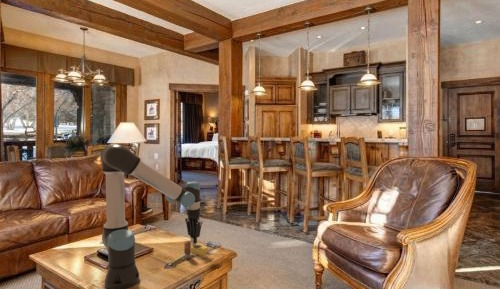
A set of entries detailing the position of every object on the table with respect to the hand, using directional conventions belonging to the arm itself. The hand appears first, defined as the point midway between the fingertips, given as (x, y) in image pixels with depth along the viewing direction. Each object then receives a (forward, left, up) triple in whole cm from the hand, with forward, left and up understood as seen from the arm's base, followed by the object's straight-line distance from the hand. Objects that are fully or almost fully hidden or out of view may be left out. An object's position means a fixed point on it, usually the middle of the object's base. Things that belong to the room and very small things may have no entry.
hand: (193, 248), depth 180 cm
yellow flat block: (0, -5, -1) cm, 5 cm away
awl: (-9, -5, -2) cm, 11 cm away
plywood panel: (+2, -3, -2) cm, 5 cm away
